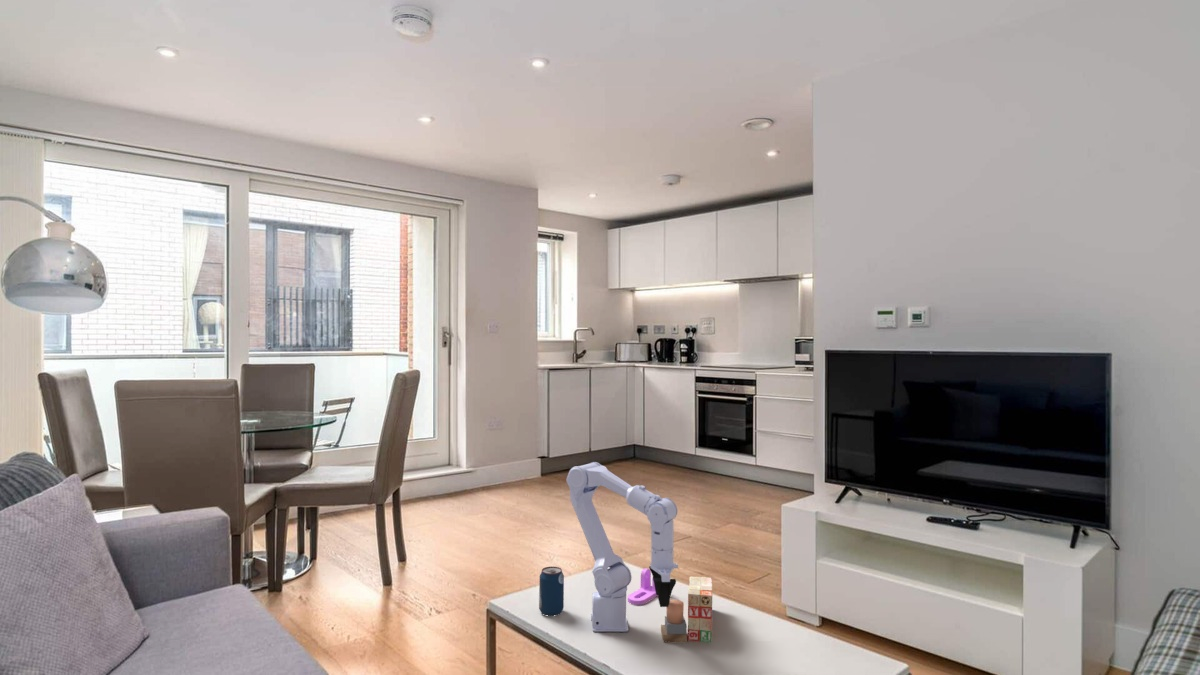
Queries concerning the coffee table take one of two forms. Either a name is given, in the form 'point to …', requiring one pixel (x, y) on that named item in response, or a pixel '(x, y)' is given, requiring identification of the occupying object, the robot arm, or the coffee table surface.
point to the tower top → (676, 627)
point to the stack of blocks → (700, 609)
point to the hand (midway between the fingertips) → (662, 600)
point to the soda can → (551, 591)
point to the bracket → (643, 589)
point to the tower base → (672, 636)
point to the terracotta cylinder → (675, 612)
